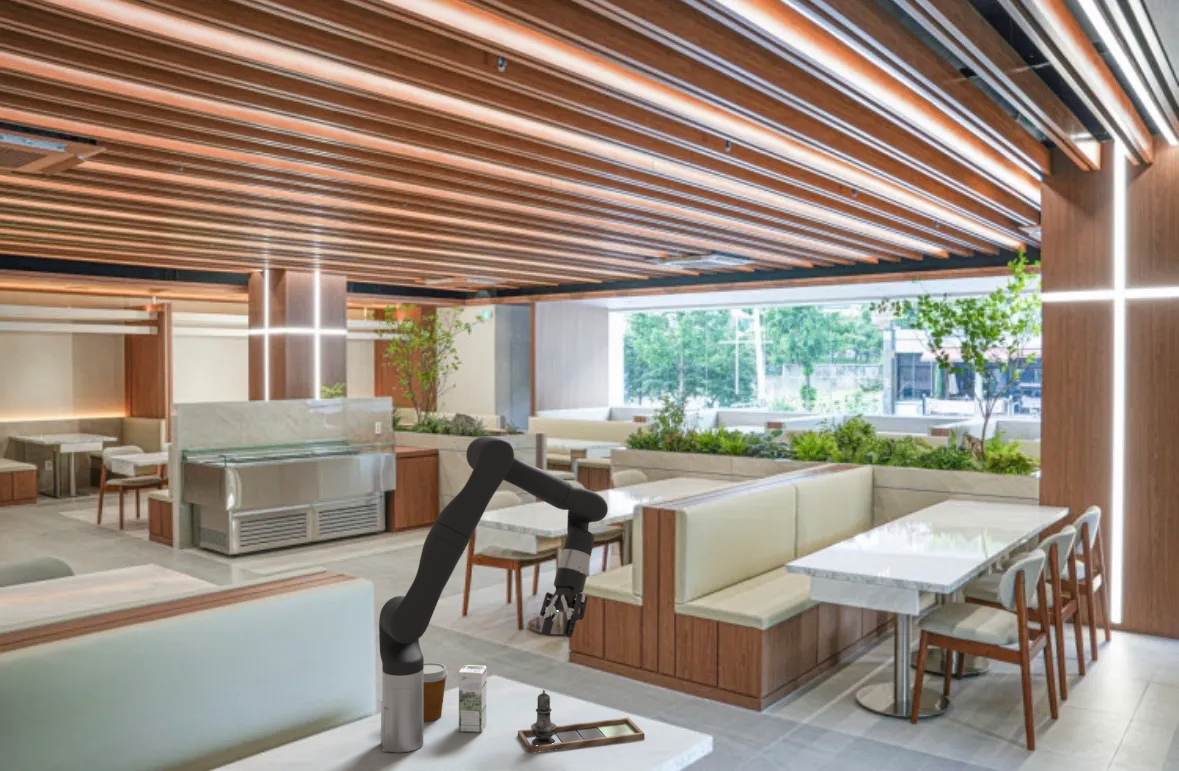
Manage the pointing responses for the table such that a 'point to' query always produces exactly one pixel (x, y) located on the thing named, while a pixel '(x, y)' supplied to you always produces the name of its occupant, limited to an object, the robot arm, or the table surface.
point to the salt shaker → (543, 722)
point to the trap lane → (587, 734)
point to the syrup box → (472, 698)
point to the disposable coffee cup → (433, 690)
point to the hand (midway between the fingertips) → (556, 635)
